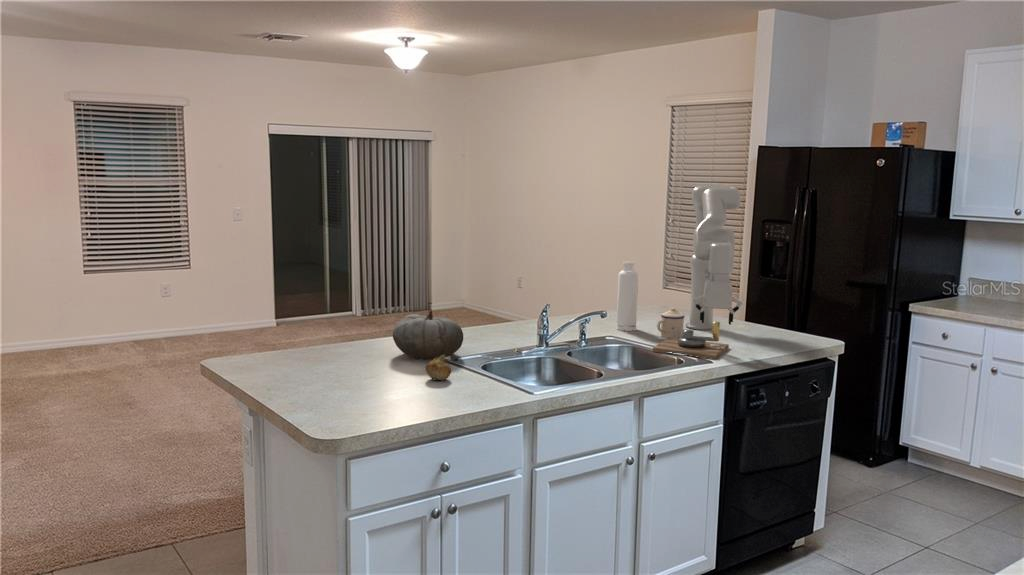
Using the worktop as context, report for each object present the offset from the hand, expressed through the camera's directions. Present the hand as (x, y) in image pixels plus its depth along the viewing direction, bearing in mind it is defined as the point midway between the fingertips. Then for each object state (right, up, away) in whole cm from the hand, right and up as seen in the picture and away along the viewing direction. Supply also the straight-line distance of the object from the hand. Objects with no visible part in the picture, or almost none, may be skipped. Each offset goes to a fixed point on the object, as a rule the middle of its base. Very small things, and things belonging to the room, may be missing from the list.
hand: (716, 323), depth 292 cm
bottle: (-28, -4, +38) cm, 47 cm away
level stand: (-9, -10, +3) cm, 14 cm away
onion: (-98, -16, -42) cm, 108 cm away
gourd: (-105, -11, -12) cm, 106 cm away
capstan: (-6, -8, +2) cm, 10 cm away
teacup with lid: (-13, -7, +24) cm, 28 cm away
